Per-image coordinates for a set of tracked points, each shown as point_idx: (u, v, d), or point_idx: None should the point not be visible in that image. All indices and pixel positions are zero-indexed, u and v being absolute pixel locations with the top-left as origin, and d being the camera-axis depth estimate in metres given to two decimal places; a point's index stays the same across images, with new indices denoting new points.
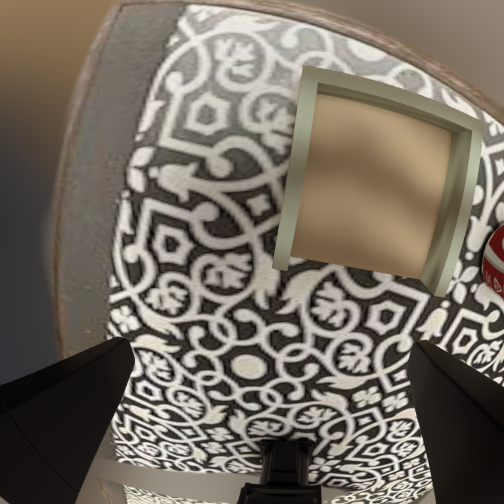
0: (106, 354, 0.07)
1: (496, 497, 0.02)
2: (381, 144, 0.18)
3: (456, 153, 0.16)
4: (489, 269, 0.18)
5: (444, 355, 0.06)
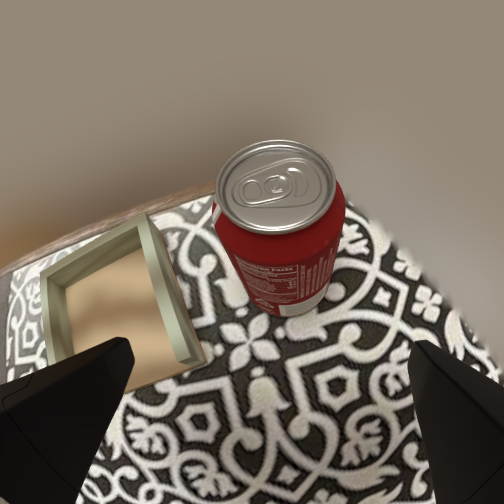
0: (106, 354, 0.07)
1: (496, 497, 0.02)
2: (106, 291, 0.24)
3: None
4: (253, 300, 0.21)
5: (443, 355, 0.06)
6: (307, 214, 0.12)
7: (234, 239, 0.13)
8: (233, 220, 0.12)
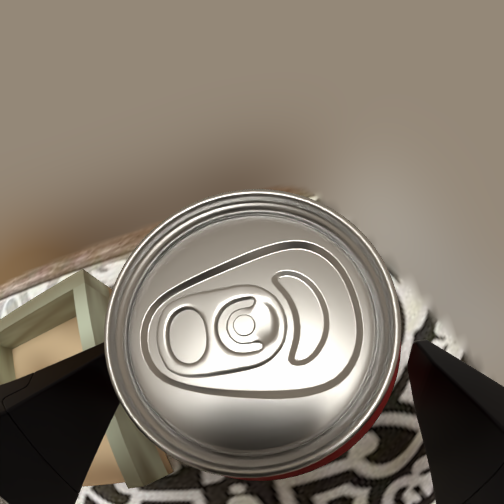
0: None
1: (496, 497, 0.02)
2: (51, 363, 0.16)
3: None
4: None
5: (443, 356, 0.06)
6: (320, 420, 0.04)
7: None
8: (138, 426, 0.04)
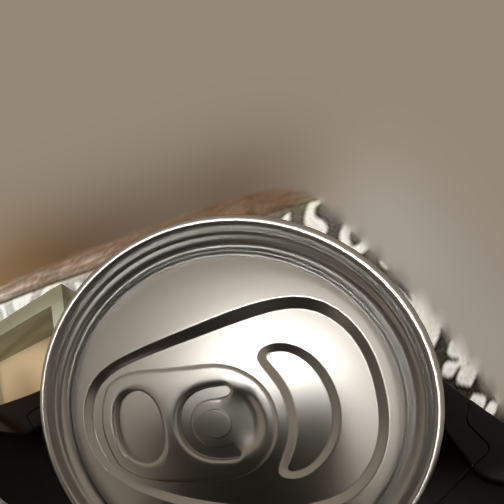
0: None
1: None
2: (35, 380, 0.14)
3: None
4: None
5: None
6: None
7: None
8: None
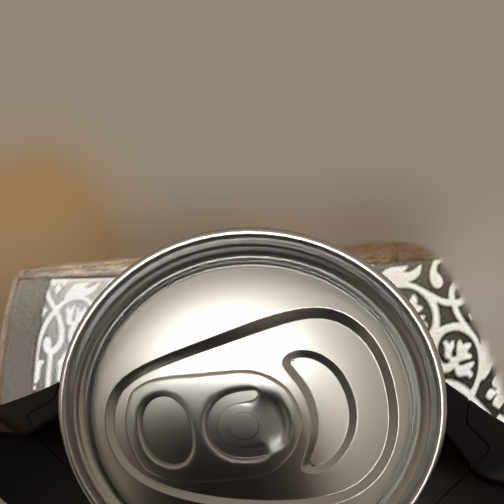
0: None
1: None
2: None
3: None
4: None
5: None
6: None
7: None
8: None
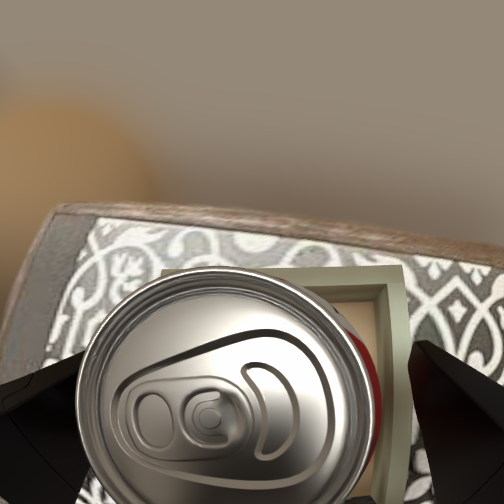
0: None
1: (496, 497, 0.02)
2: None
3: (380, 324, 0.14)
4: None
5: (443, 355, 0.06)
6: None
7: None
8: (113, 498, 0.03)
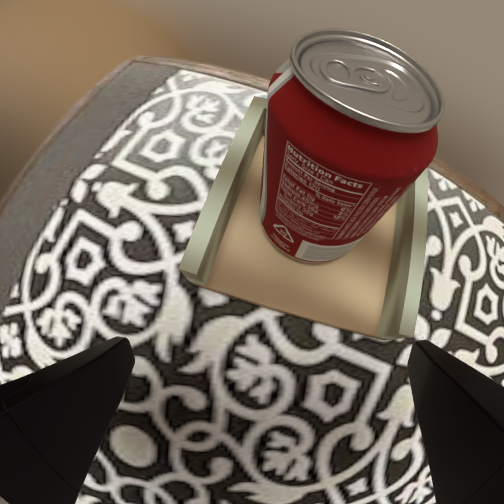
0: (106, 354, 0.07)
1: (496, 497, 0.02)
2: None
3: None
4: (268, 227, 0.16)
5: (443, 355, 0.06)
6: (408, 121, 0.07)
7: (298, 117, 0.08)
8: (312, 86, 0.07)
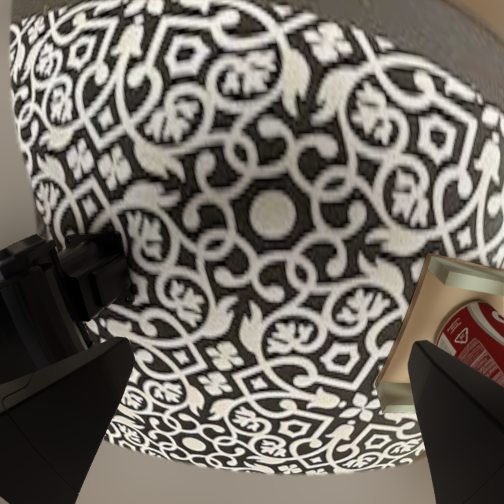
0: (106, 354, 0.07)
1: (496, 497, 0.02)
2: None
3: None
4: (465, 318, 0.17)
5: (443, 355, 0.06)
6: None
7: None
8: None
